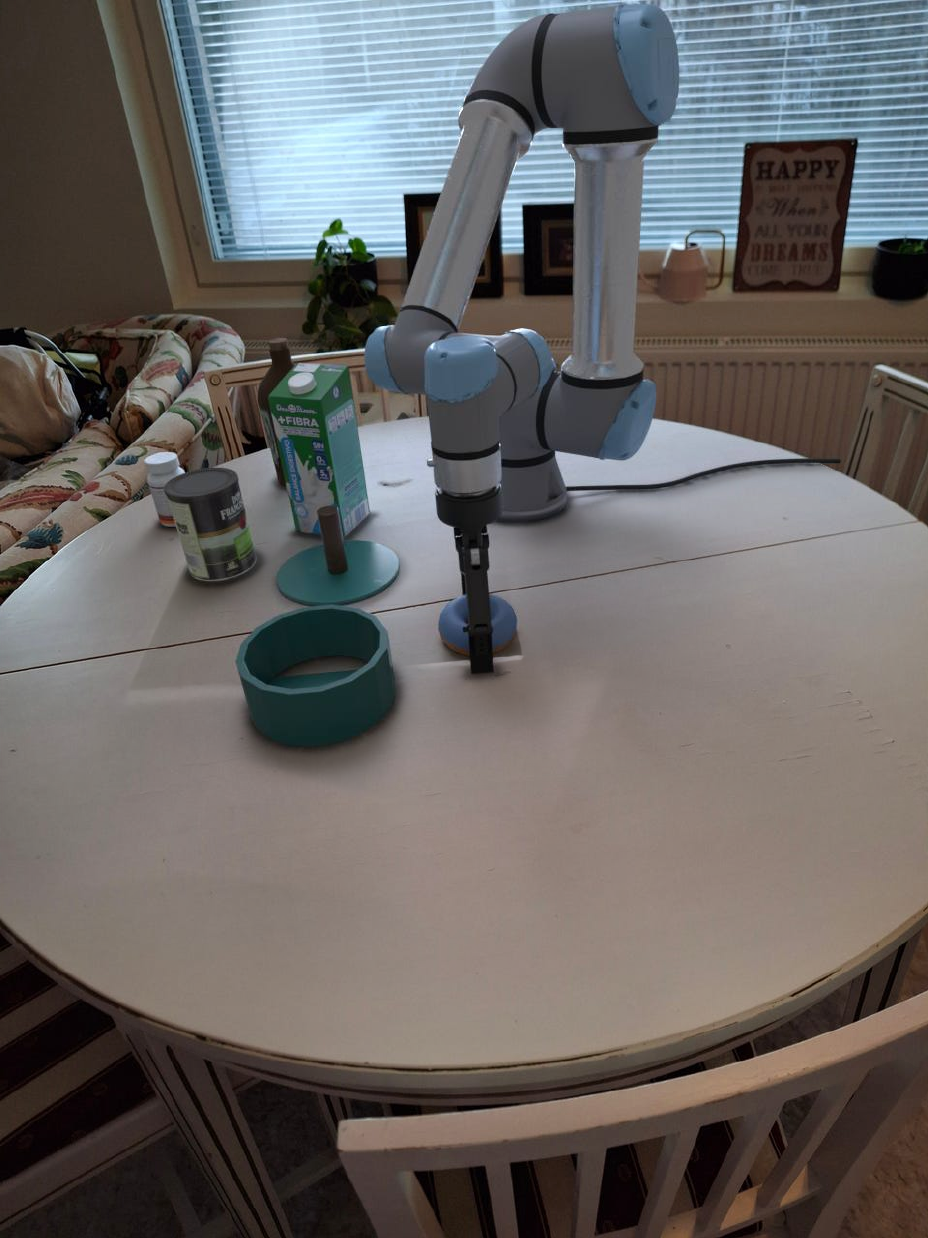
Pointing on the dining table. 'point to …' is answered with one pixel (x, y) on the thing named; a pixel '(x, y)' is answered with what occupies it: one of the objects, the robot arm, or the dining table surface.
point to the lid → (337, 567)
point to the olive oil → (268, 384)
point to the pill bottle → (162, 482)
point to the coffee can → (211, 523)
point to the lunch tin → (316, 675)
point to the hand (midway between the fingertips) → (477, 639)
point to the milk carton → (320, 445)
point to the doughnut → (457, 618)
